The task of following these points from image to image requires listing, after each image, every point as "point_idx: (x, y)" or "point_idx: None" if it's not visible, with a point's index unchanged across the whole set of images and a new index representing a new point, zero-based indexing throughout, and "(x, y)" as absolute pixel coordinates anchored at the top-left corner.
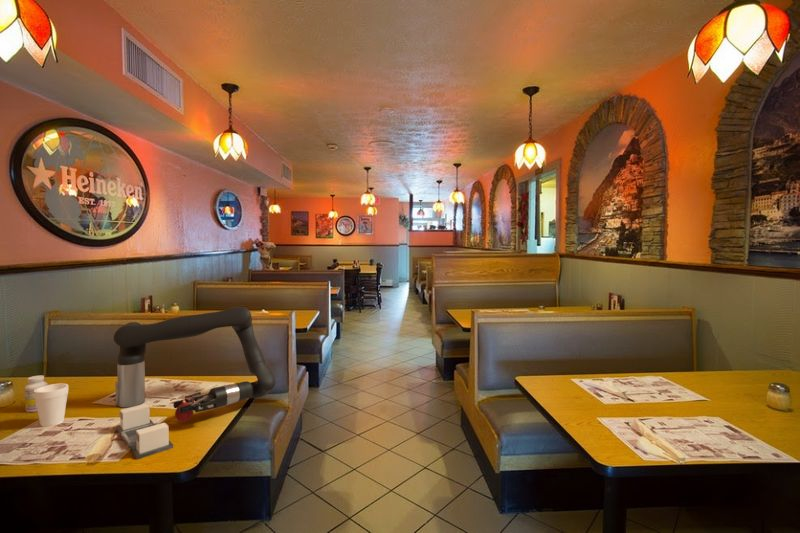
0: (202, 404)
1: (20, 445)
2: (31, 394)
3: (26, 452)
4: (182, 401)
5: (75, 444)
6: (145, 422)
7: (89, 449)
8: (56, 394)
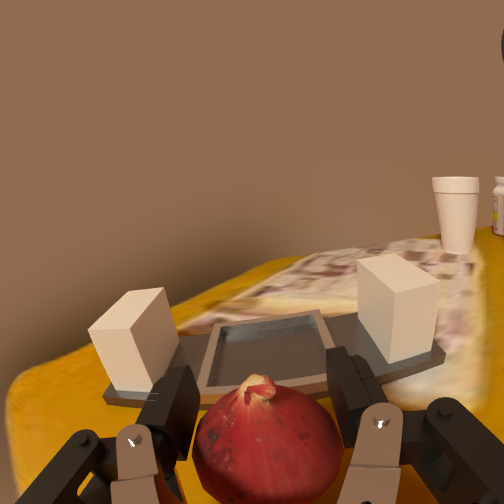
0: (48, 468)
1: (375, 248)
2: (493, 202)
3: (343, 255)
4: (341, 398)
5: (338, 281)
6: (383, 348)
7: (291, 296)
8: (441, 187)
